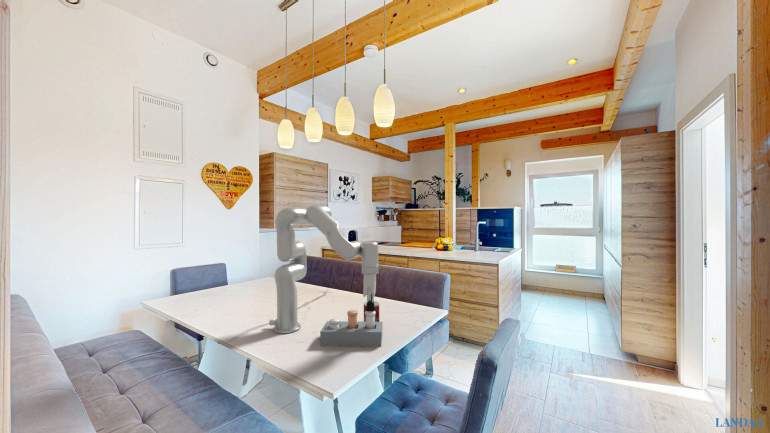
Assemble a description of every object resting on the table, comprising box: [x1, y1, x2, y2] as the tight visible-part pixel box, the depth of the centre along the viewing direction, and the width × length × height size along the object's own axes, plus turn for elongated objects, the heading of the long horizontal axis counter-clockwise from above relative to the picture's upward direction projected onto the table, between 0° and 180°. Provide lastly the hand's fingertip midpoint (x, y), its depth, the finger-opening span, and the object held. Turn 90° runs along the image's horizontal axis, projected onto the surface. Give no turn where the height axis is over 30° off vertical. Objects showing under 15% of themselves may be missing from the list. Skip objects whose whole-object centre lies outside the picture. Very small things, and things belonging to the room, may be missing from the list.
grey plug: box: [365, 311, 376, 329], centre depth 130 cm, size 5×5×8 cm
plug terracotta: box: [347, 309, 359, 329], centre depth 130 cm, size 5×5×8 cm
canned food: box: [363, 300, 380, 322], centre depth 148 cm, size 8×8×11 cm
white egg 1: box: [329, 317, 341, 329], centre depth 130 cm, size 5×5×8 cm
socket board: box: [319, 320, 383, 347], centre depth 130 cm, size 26×12×6 cm, turn 88°
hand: (370, 310), depth 130 cm, fingers closed
